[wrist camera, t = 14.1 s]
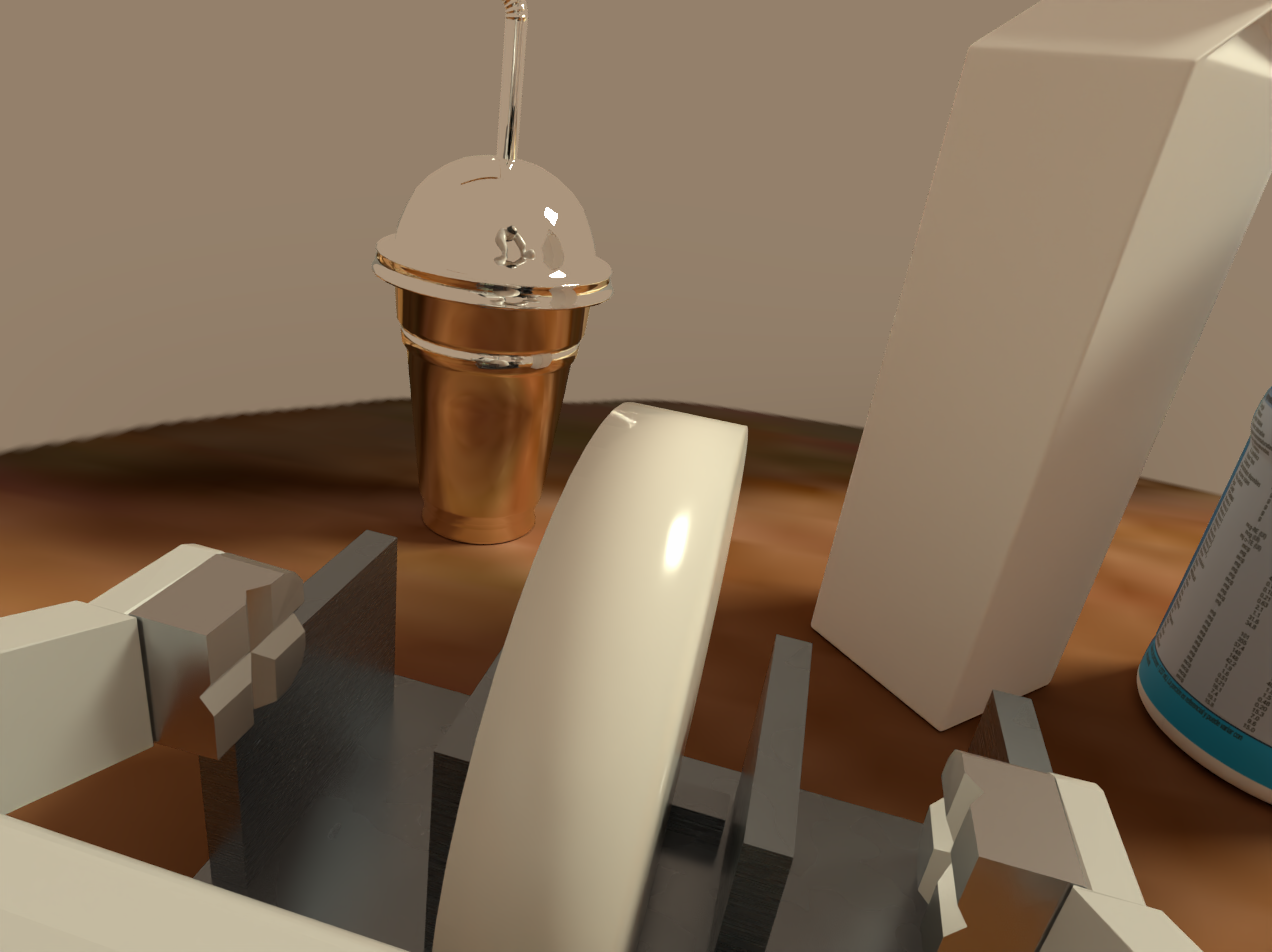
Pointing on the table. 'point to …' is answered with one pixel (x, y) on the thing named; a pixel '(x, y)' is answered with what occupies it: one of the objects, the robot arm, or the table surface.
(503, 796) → the plate
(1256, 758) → the beverage bottle
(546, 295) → the cup with straw
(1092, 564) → the milk
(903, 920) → the dish rack
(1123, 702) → the table surface
